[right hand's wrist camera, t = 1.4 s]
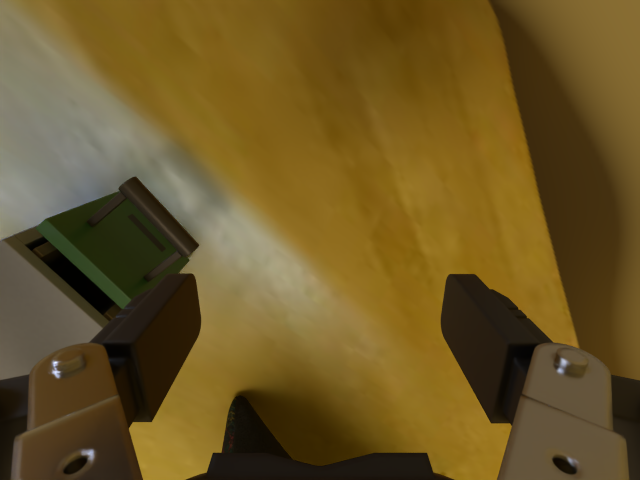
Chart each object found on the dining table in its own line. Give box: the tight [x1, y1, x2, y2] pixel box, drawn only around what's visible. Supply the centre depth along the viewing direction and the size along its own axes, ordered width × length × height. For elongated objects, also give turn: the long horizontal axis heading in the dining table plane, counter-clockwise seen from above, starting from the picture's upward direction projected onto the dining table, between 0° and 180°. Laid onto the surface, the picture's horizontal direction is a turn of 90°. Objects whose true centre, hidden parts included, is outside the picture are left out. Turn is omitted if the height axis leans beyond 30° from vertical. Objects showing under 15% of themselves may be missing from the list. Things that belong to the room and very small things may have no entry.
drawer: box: [32, 177, 199, 322], centre depth 31 cm, size 21×9×10 cm, turn 127°
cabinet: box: [0, 225, 109, 380], centre depth 32 cm, size 17×10×12 cm, turn 127°
